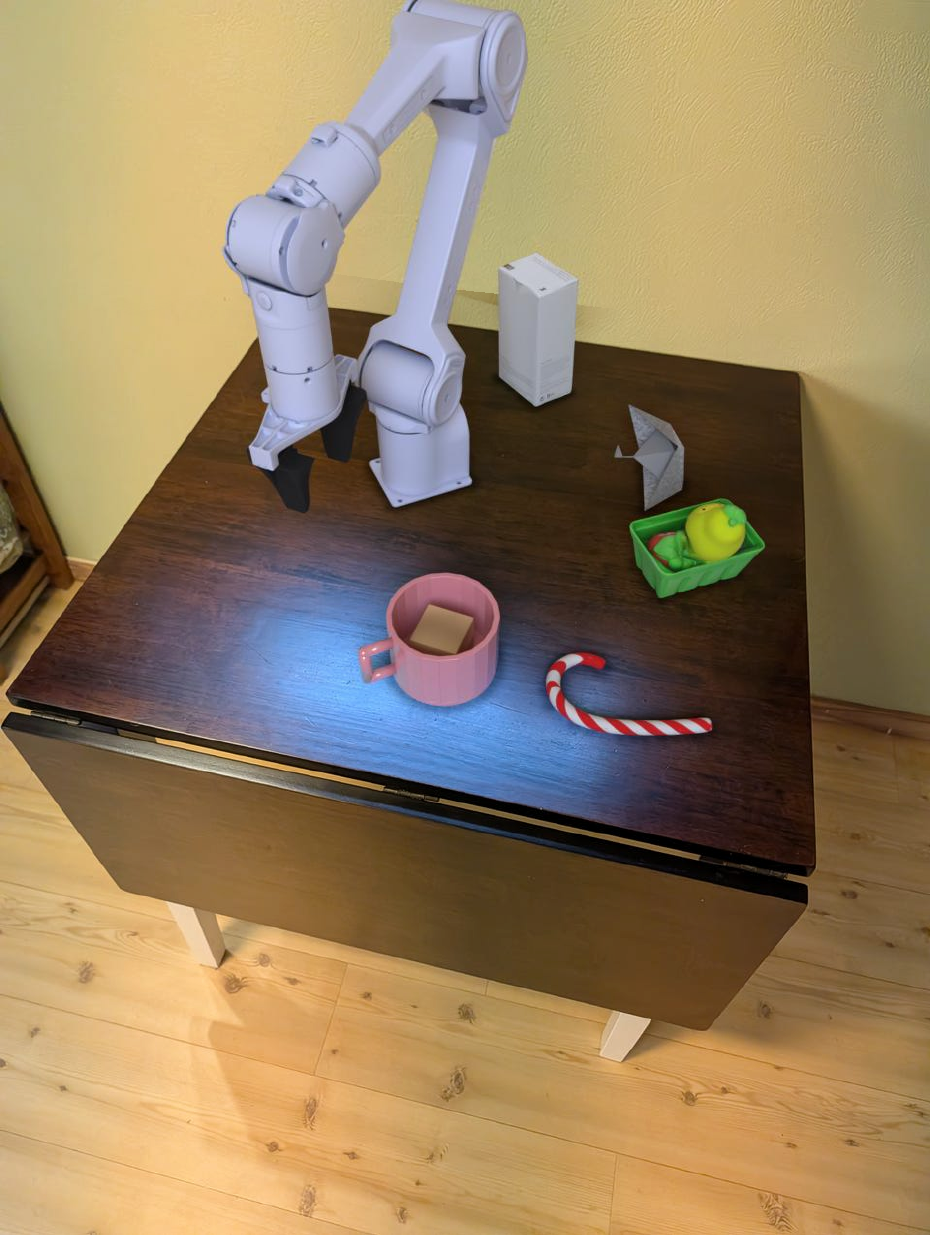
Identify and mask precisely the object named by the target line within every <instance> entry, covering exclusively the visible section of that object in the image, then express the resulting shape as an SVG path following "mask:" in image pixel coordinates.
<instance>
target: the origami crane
mask: <svg viewBox="0 0 930 1235" xmlns="http://www.w3.org/2000/svg"><path fill="white" fill-rule="evenodd" d="M628 409H629V413H630V417H631V422H632V425H633V430H634V435H635V437H636V443H637V446H638V450H637V451H636V452H635V453H634V455H629V456H627V455H626V456H625V455H623V453H622V452H621V448H620V446H619V445H617V447H616V450H615V452H614V456H613V457H614V459H615V458H616V459H617V458H633V459H634V460H636V461H637V462H638V463H639V464H641V465H642V473H643V475H642V476H643V493H644V494H643V496H644V497H643V500H644V512H645V511H647V510H649V509H651V508H653V507H655V506H656V505H658V504H660V503H662V502H663V501H665V500H667V499H668V498H669V497H672V496H673V495H675V494H677V493H679V492H680V491H682V490H683V484H684V472H685V471H684V468H685V466H684V465H685V464H684V463H685V447H684V445H683V443H682V442H681V440H680V438H679V436H678V435H677V433H676V431H675V430H674V428H673V426H672V424H671V423H669V422H667V421H665V420H663V419H660V418H659V417H656V416H655V415H652V414H650V413H648V412H646V411H643V410H641V409H639V408H637V407H635V406H634V405H631V404H629V403H628Z"/></svg>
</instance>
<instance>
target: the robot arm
mask: <svg viewBox="0 0 930 1235" xmlns="http://www.w3.org/2000/svg"><path fill="white" fill-rule="evenodd" d="M528 53H529V52H528V47H527V36H526V31H525V28H524V24H523V20H522V18H521V17H520V15H519V14H518V12H516V11H515V10H513V9H508V8H505V9H502V10H501V9H500V10H499V9H494V8H489V7H483V6H479V5H475V4H469V3H464V2H459V1H454V0H406V1H405V2H404V4H403V5H402V7H401V10H400V12H398V13H397V14H396V15H395V16H394V17H393V18H392V22H391V27H390V37H389V52H388V54H387V55H386V57H385V59H384V60H383V62H382V63H381V65H380V66H379V67H378V69H377V70H376V72H375V74H374V75H373V77H372V78H371V80H370V81H369V83H368V84H367V86H366V88H365V89H364V91H363V92H362V93H361V95H360V97H359V98H358V100H357V101H356V103H355V104H354V106H353V107H352V109H351V110H350V112H349V114H348V115H347V116H346V118H345V120H344V121H343V122H342V121H338V120H337V121H335V120H327V121H324V122H323V123H321V124H319V123H318V124H317V125H316V126H315V127H314V128H313V130H312V131H311V132H310V133H309V138H308V139H307V140H306V142H305V143H304V145H303V146H302V147H301V148H300V149H299V151H298V152H297V153H296V154H295V155H294V157H293V158H292V159H291V161H290V162H289V163H288V164H287V166H285V168H284V169H283V170H282V172H281V173H280V174H279V175H278V177H277V178H276V179H275V180H274V181H273V183H272V184H271V185H270V186H269V188H268V189H267V190H266V191H265V193H264V194H263V193H256V194H255V195H253V194H252V195H248V196H246V198H245V199H243V200H241V201H239V202H238V203H237V204H236V205H235V206H234V207H233V208H232V210H231V211H230V213H229V216H228V218H227V220H226V225H225V233H224V240H225V244H224V245H223V246H222V247H221V252H222V256H223V259H224V261H225V263H226V265H227V266H228V267H229V269H230V270H231V271H232V272H233V273H234V274H236V275H237V276H238V278H239V279H240V282H241V286H242V289H243V290H242V291H243V294H244V295H246V296H247V297H248V298H249V300H250V301H251V302H250V303H251V308H252V313H253V318H254V323H255V328H256V332H257V333H256V334H257V338H258V343H259V347H260V353H261V358H262V363H263V368H264V372H265V377H266V383H267V387H266V388H265V389H264V390H263V391H262V392H261V393H260V396H261V400H262V402H263V403H266V404H267V406H266V409H265V412H264V415H263V418H262V420H261V423H260V425H259V429H258V432H257V434H256V436H255V437H254V439H253V441H252V442H251V443H250V444H249V445H248V447H247V448H246V455H247V459H248V461H249V462H250V463H251V464H252V465H253V466H255V467H256V468H257V469H258V470H259V471H260V472H261V473H262V474H263V475H264V476H265V477H266V478H267V479H268V480H269V481H270V483H271V484H272V486H273V487H274V488H275V490H276V492H277V493H278V495H279V497H280V499H281V500H282V503H283V504H284V506H285V508H286V509H288V510H292V511H296V512H298V513H300V514H303V515H305V514H306V513H307V512H308V511H309V510H310V506H311V494H310V476H311V470H312V467H313V464H314V462H315V460H316V458H315V457H313V456H310V455H306V454H303V453H300V452H299V450H298V448H297V447H294V444H295V443H297V442H298V441H300V440H302V439H304V438H305V437H308V436H309V435H311V434H312V433H314V432H316V431H318V430H320V435H321V436H320V437H321V440H322V444H323V449H324V451H325V454H326V456H327V458H328V459H331V460H334V461H337V462H340V463H343V464H348V463H349V461H350V460H351V458H352V457H351V456H352V453H353V452H352V451H353V445H354V438H355V435H356V434H355V433H356V429H357V424H358V421H359V418H360V416H361V413H362V411H363V409H364V406H365V405H366V403H368V410H369V412H371V413H372V414H373V415H374V416H375V422H376V431H377V432H376V433H377V441H378V454H379V458H375V459H372V460H370V461H369V462H368V466H369V468H370V469H371V471H372V473H373V475H374V476H375V479H376V481H377V482H378V484H379V486H380V487H381V489H382V491H383V492H384V494H385V496H386V497H387V499H388V501H389V503H390V505H391V506H392V507H394V508H399V507H401V506H405V505H409V504H412V503H416V502H419V501H421V500H425V499H429V498H431V497H436V496H438V495H442V494H445V493H448V492H452V491H455V490H458V489H462V488H465V487H468V486H470V485H472V484H473V479H472V477H471V476H470V429H469V423H468V419H467V417H466V412H465V411H464V408H463V406H462V405H461V403H460V401H461V397H462V392H463V375H464V374H463V373H464V368H465V363H466V358H467V356H466V354H465V351H464V350H463V348H462V347H461V346H460V344H459V343H458V341H457V340H456V338H455V337H454V335H453V334H452V332H451V330H450V329H449V327H448V325H449V322H450V321H449V320H450V318H451V313H452V310H453V305H454V302H455V297H456V295H457V290H458V287H459V283H460V279H461V276H462V271H463V267H464V264H465V260H466V256H467V253H468V249H469V246H470V241H471V237H472V233H473V230H474V226H475V222H476V219H477V215H478V211H479V207H480V203H481V199H482V196H483V192H484V189H485V186H486V181H487V177H488V174H489V170H490V167H491V166H490V165H491V162H492V158H493V155H494V151H495V147H496V143H497V139H498V138H499V137H502V136H504V135H506V134H508V133H509V132H510V129H511V125H512V122H513V119H514V116H515V113H516V109H517V106H518V102H519V98H520V95H521V91H522V87H523V83H524V80H525V77H526V72H527V68H528V62H529V55H528ZM422 112H423V114H425V115H426V116H427V117H428V118H430V119H431V120H432V123H433V126H434V129H435V131H436V133H437V141H436V144H435V148H434V152H433V157H432V161H431V165H430V169H429V173H428V177H427V182H426V186H425V191H424V195H423V199H422V202H421V203H422V204H421V207H420V212H419V216H418V219H417V224H416V227H415V232H414V236H413V240H412V245H411V249H410V253H409V256H408V261H407V266H406V269H405V274H404V278H403V282H402V286H401V291H400V295H399V298H398V303H397V307H396V311H395V313H394V314H392V315H390V316H388V317H386V318H384V319H383V320H381V321H378V322H377V323H375V324H373V325H372V326H371V327H370V328H369V329H370V330H369V333H368V337H367V340H366V343H365V345H364V347H363V349H362V351H361V352H360V354H359V355H358V358H354V357H350V356H346V355H343V354H339V353H337V354H336V355H335V354H334V345H333V337H332V330H331V328H332V327H331V321H330V315H329V314H330V313H329V305H328V298H327V297H328V296H327V289H326V288H327V287H326V285H327V284H328V283H329V282H330V281H331V279H332V277H333V275H334V272H335V269H336V266H337V263H338V257H339V252H340V250H341V247H342V246H343V244H344V243H345V242H344V240H345V238H346V234H345V229H346V228H347V227H348V226H349V225H350V223H351V222H352V220H353V219H354V218H355V216H356V215H357V214H358V212H359V211H360V209H361V208H362V207H363V206H364V204H365V203H366V202H367V201H368V199H369V198H370V196H371V195H372V194H373V192H374V191H375V190H376V189H377V187H378V186H379V184H380V182H381V179H382V168H381V164H380V157H381V156H382V155H383V154H384V153H385V152H386V151H387V150H388V149H389V147H390V146H391V145H392V144H393V143H394V142H395V141H396V140H397V139H398V138H399V137H400V136H401V134H402V133H404V132H405V130H406V129H407V128H408V127H409V126H410V125H411V124H412V123H413V121H414V120H415V119H417V117H418V116H419V115H420V114H421V113H422ZM400 346H402V347H400ZM406 348H407V349H406ZM409 349H410V350H409ZM411 350H412V351H411ZM417 352H418V353H417ZM419 353H421V354H419ZM422 354H423V355H422ZM425 355H426V356H425ZM353 383H354V385H353Z"/></svg>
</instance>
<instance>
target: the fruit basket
mask: <svg viewBox="0 0 930 1235" xmlns="http://www.w3.org/2000/svg"><path fill="white" fill-rule="evenodd" d="M629 533H630V536H631V538H632V544H633V552H634V557H635V558H634V559H635V566H637V567H638V569H640V570H641V572H642V576H644V578H645V579H646V581H647V583H648V584H649V585H650V587H651V588H652V589H653V590H655V593H656V596H657V597H658V598H659V599H663V598H666V597H670V596H673V595H675V594H676V593H684V592H688V591H690V590H694V589H696V588H697V587H698V586H699V587H702V586H703V587H704V586H708V585H711V584H712V585H713V584H715V583H717V582H718V581H720V580H723V581H725V580H727V579H732V578H735V577H737V576H738V575H739V573H741V572H742V570H743V569H744V568H746V566H747V565H748V564H749V563H750V562H751V561H752V560H753V558H754V557H756V556H757V555H759V553H761V552H762V551H763V550H764V549H765V548H766V545H765V542H764V540H763V539H762V538H761V537H760V536H759V534H758V533H757V531H755V529H754V528H753V526H752V525H751V524H750V523H749V521H748V520H747V514H746V513H745V511H744V509H742V508H740V507H739V506H737V505H735V504H734V503H733V502H731V501H730V500H729V499H727V498H716V499H714V500H710V501H706V502H702V503H699V504H695V505H691V506H687V507H683V508H680V509H676V510H672V511H669V512H665V513H661V514H657V515H654V516H650V517H646V518H645V517H644V518H641V519H638V520H634V521H632V522H631V523H630V524H629Z"/></svg>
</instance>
